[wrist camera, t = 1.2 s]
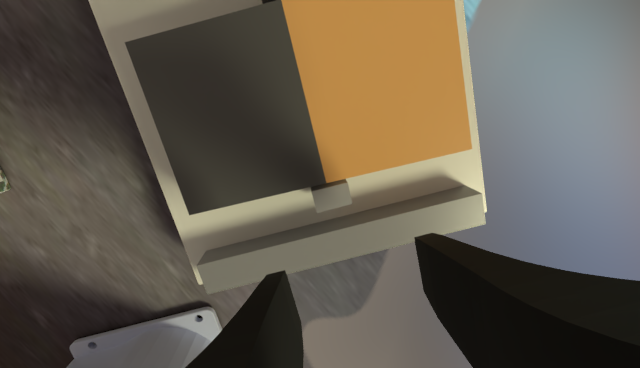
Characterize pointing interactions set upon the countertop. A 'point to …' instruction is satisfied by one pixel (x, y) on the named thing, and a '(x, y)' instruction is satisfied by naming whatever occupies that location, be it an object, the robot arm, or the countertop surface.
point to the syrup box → (3, 182)
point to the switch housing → (305, 204)
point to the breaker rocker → (303, 94)
